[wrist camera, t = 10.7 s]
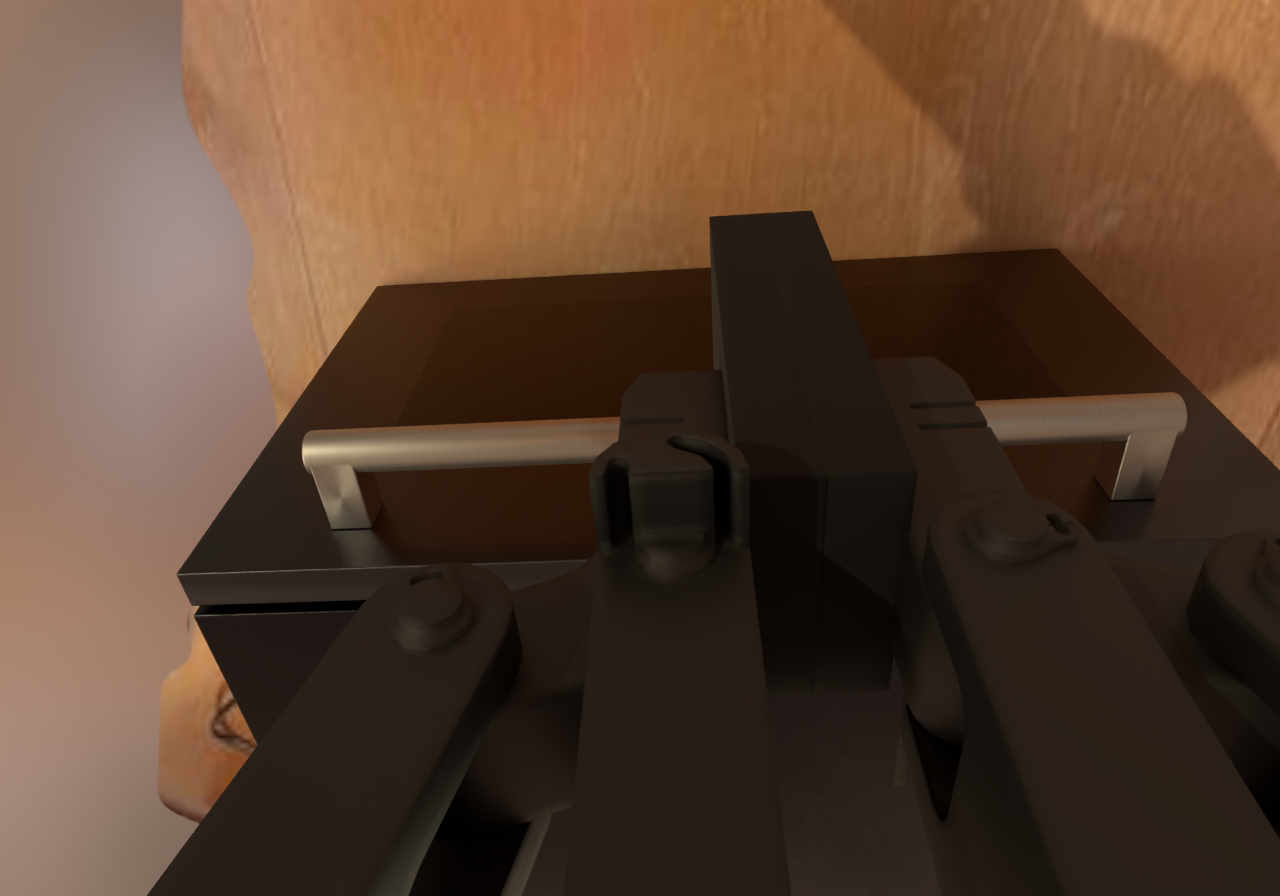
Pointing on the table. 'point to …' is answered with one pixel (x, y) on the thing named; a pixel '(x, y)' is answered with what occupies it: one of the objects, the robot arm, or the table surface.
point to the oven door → (683, 341)
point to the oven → (807, 780)
